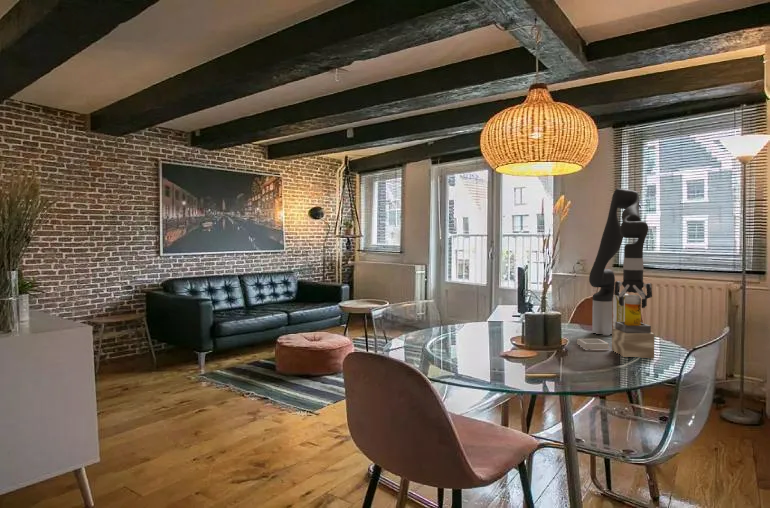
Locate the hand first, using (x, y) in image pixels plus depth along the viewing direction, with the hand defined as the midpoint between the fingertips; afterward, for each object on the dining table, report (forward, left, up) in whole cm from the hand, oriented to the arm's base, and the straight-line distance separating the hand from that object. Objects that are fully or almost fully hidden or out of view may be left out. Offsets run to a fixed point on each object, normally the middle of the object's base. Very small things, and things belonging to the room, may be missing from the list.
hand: (632, 306), depth 205 cm
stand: (0, 0, -20) cm, 20 cm away
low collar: (-12, -12, -20) cm, 26 cm away
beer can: (0, 0, -11) cm, 11 cm away
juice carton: (-54, +20, -21) cm, 61 cm away
